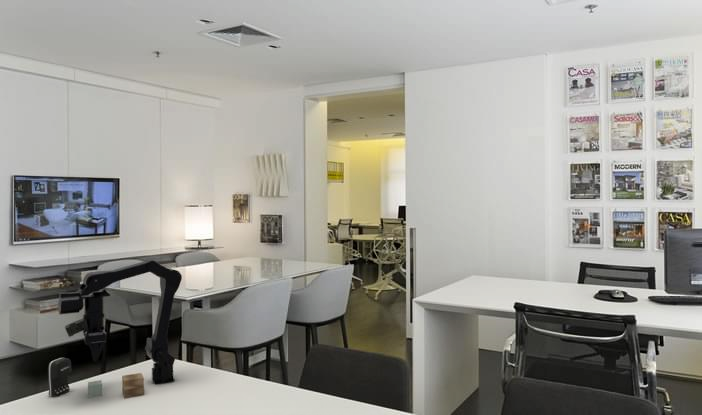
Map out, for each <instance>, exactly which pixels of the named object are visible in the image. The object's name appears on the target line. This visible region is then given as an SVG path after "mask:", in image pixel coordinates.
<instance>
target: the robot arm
mask: <svg viewBox="0 0 702 415" xmlns="http://www.w3.org/2000/svg"><path fill="white" fill-rule="evenodd" d="M147 273H151V274H153V275H155V276H156V277H158V278H159V288H160V299H159V304H158V309H157V314H156V320H155V326H154V331H153V333H152V336H151V338H150V337H147V338H146V345H145V347H144V350H146V351H145V352H146V355H147V356H148V357H149V358H150V359H152V362H153V366H152V367H151V380H152V382H153V383H154V384H155V385H158V384H164V383H165V384H166V383H170V382H175V378H174V364H175V360H176V358H175V357H174V356H173V355H172V354H170V353H169V340H168V330H169V325H170V320H171V314H172V308H173V304H174V298H175V295H176V293H177V291H178V290H179V288H180V285H181V283H182V280H183V279H182V278H183V276H182V274H181V272H180V271H178V270H177V269H173V268H171V267H170V268H168V267H165V266H164V265H161V264H159V263H157V262H156V261H155V260H152V259H146V260H145V261H141V262H138V263H133V264H130V265H126V266H123V267H119V268H115V269H113V270H99V271H90V272H88V273H86V274H85V276H84V277H83V280H82V283H81V285H80V286H79V287H78V289H77V290H76V291H75V292H73V291H72V292H60V293H59V297H58V301H57V307H58V308H57V309H58V310H57V311H58V315H68V314H77V313H78V314H79V313H80V311H82V310H83V309H84V314H83V315H82V318H81V319H78V320H75V321H72V322H70V323H69V324H66V325H64V329H65V332H66V333H67V336H68V337H69V338H70V337H73V336H75V335H76V334H78V333H80V332H82V333H83V337H84V343H85V345H86V346H88V347H89V348H90V353H91V356H92V361H93V362H94V363H97V362H98V361H99V359H100V355H101V353H102V351H103V348H104V346H105V344H106V342H107V340H108V339H107V332H106V331H105V321H104V320H105V313H104V311H105V310H104V306H105V305H104V302H105V297H110V296H111V293H109V292H108V291H107V290H106V288H107V287H109V286H110V285H111V286H112V284H115V283H116V282H119V281H123V280H126V279H130V278H133V277H136V276H139V275H143V274H147Z"/></svg>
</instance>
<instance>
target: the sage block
mask: <svg viewBox="0 0 702 415" xmlns="http://www.w3.org/2000/svg"><path fill="white" fill-rule="evenodd" d="M87 390H88V391H87V392H88V398H94V397H101V396H103V382H102V379H101V380H94V381H89V382H87Z"/></svg>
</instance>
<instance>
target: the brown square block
mask: <svg viewBox="0 0 702 415" xmlns="http://www.w3.org/2000/svg"><path fill="white" fill-rule="evenodd" d="M121 376H122V377H121V378H122V379H121V380H122V381H121V382H122V383H121V385H123V388H124V390H128V389H134V388H140V387H144V388H145V383H144V382H145V381H144V375H143V373H142V372H138V373H132V374H131V373H130V374H126V375H125V374H123V375H121Z"/></svg>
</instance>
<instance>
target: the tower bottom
mask: <svg viewBox="0 0 702 415" xmlns="http://www.w3.org/2000/svg"><path fill="white" fill-rule="evenodd" d="M121 385H122V384H121ZM122 396H123V398H124V400H125V399H130V398H136V397H141V396H145V386H144V387H140V388H134V389H128V390H124V388H123V385H122Z"/></svg>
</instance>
